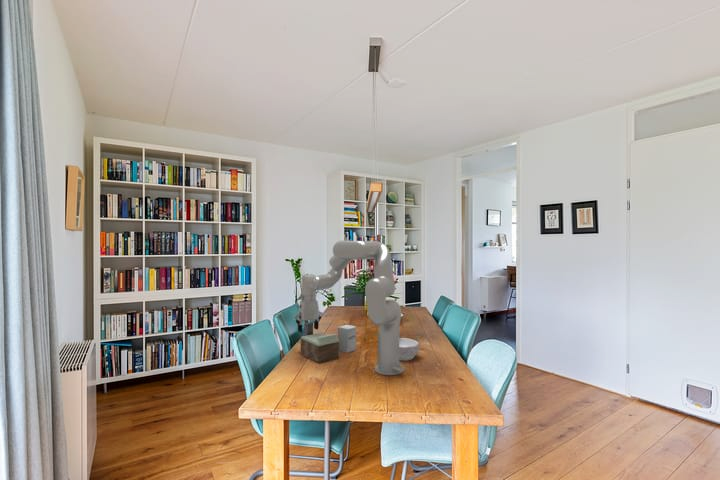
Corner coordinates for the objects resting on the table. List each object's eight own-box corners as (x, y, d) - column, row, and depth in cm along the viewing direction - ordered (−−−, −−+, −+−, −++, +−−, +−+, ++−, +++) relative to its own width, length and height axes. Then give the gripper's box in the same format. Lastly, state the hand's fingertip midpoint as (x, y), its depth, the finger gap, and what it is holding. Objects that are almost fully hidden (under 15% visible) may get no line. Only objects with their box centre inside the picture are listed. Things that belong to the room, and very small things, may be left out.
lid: (338, 341, 173) (339, 334, 173) (318, 346, 165) (318, 338, 165) (321, 334, 185) (321, 327, 185) (301, 338, 178) (301, 331, 178)
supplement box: (347, 353, 181) (347, 329, 181) (337, 350, 185) (337, 326, 185) (356, 349, 187) (356, 326, 187) (345, 347, 191) (345, 324, 191)
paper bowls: (415, 364, 165) (415, 347, 165) (384, 360, 170) (384, 344, 170) (420, 354, 179) (420, 339, 179) (392, 351, 184) (392, 336, 184)
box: (338, 358, 173) (338, 342, 173) (318, 363, 165) (318, 346, 165) (315, 347, 190) (315, 333, 190) (295, 352, 182) (295, 336, 182)
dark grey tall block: (313, 342, 184) (313, 323, 184) (307, 343, 181) (307, 323, 181) (309, 340, 186) (309, 321, 186) (304, 341, 184) (304, 322, 184)
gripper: (297, 300, 176) (297, 334, 176) (326, 297, 186) (325, 329, 187) (290, 298, 181) (290, 331, 181) (318, 295, 192) (318, 326, 192)
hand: (308, 330), depth 184 cm, fingers open, 9 cm apart
